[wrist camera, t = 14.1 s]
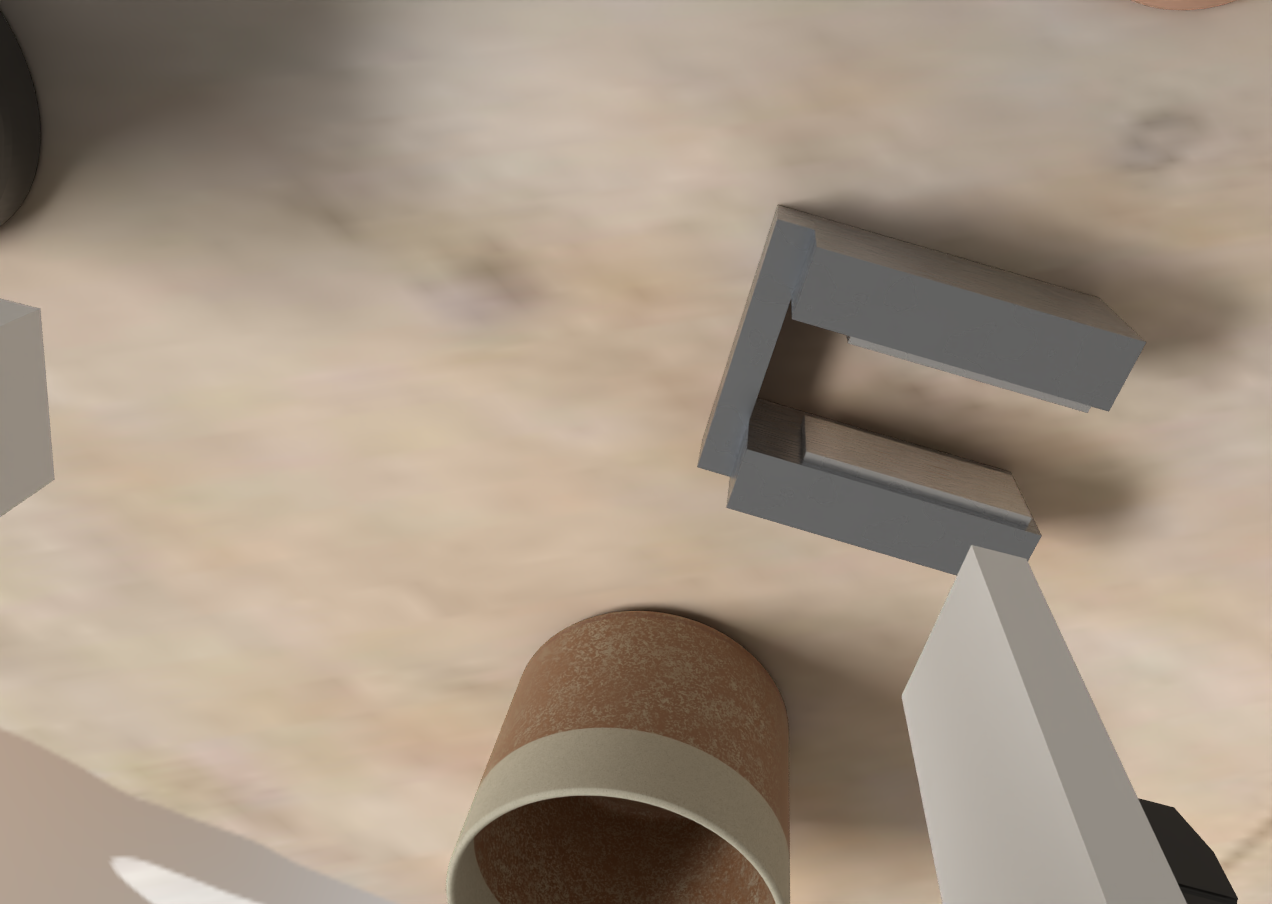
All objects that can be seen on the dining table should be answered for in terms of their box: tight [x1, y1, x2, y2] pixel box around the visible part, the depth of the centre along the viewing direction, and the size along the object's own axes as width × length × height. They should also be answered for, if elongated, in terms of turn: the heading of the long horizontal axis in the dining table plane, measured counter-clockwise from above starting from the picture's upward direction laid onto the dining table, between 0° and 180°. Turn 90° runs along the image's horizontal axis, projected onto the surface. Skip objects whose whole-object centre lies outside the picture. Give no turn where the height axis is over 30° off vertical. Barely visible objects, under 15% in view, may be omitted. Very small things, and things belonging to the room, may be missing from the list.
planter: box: [446, 611, 790, 904], centre depth 48 cm, size 16×16×14 cm
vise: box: [697, 205, 1146, 575], centre depth 41 cm, size 15×12×6 cm
